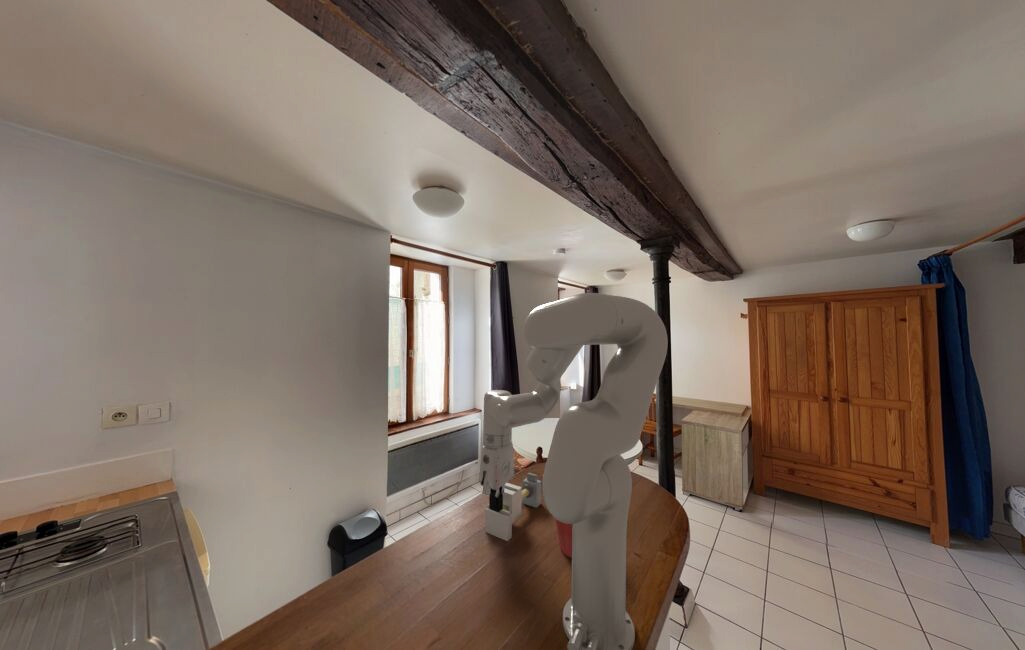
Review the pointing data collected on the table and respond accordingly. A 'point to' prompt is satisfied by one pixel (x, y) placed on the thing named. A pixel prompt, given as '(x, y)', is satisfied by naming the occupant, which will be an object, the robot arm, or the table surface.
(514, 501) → the grooved sliding block
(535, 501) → the rail
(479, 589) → the table surface
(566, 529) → the flower pot
